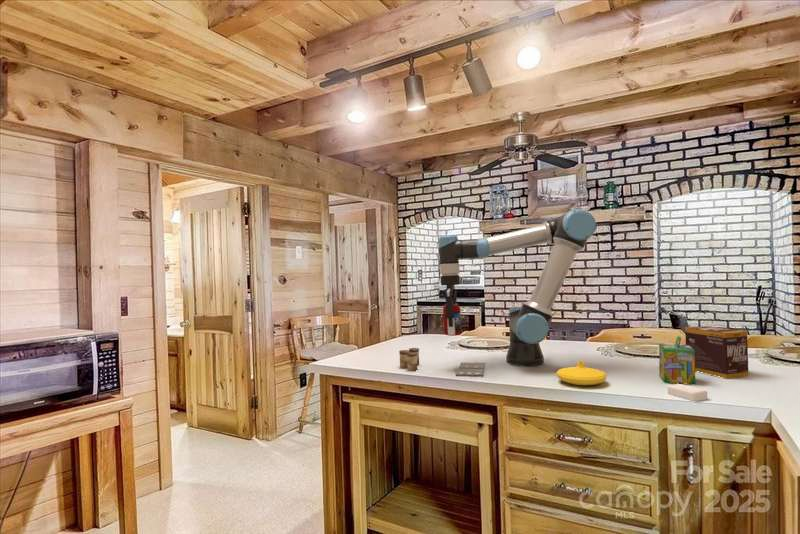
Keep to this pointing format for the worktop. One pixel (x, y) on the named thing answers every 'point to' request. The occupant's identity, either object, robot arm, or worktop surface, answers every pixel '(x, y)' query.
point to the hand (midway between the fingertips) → (453, 333)
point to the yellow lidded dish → (581, 375)
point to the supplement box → (719, 350)
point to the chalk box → (677, 363)
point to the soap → (687, 392)
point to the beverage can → (456, 317)
